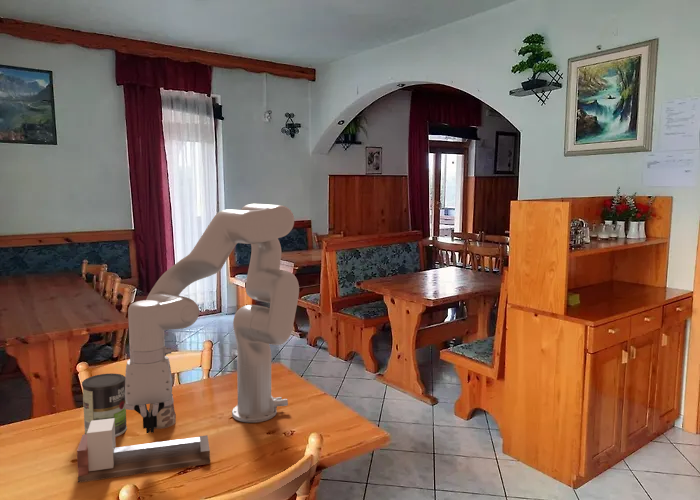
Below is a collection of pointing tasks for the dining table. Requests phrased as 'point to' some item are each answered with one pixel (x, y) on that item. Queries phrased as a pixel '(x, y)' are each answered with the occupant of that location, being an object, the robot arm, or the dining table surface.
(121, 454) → the beam
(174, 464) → the board
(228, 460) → the dining table surface
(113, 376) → the coffee can
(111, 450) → the block
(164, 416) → the figurine
